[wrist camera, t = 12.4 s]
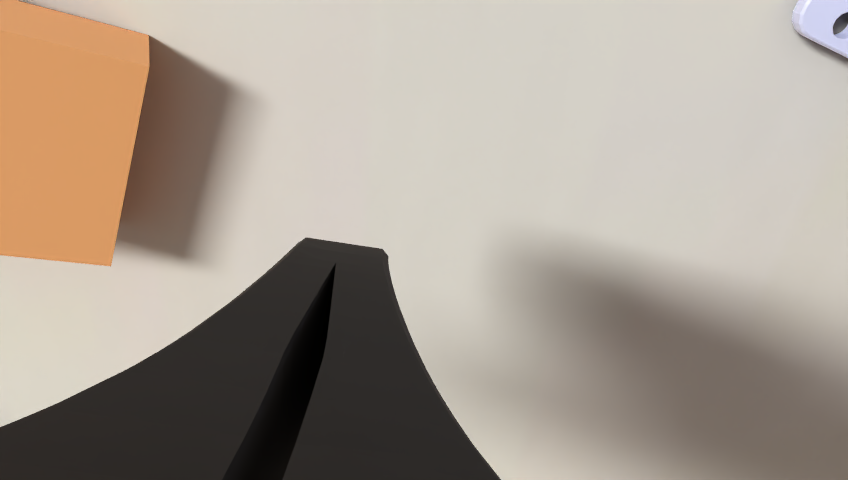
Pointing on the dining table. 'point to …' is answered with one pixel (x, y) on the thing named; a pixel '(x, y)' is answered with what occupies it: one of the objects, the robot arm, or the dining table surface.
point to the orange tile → (66, 131)
